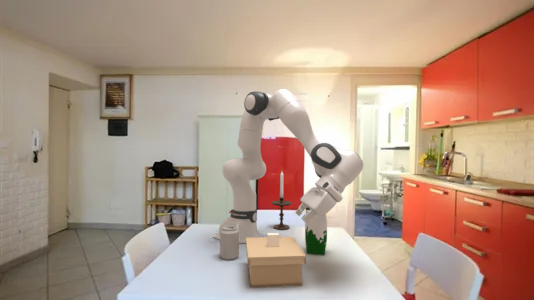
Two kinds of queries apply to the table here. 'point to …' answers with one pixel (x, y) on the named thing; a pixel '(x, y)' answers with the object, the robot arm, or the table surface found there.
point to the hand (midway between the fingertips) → (299, 217)
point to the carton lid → (274, 251)
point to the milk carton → (316, 234)
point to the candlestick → (281, 205)
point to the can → (229, 242)
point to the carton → (275, 275)
